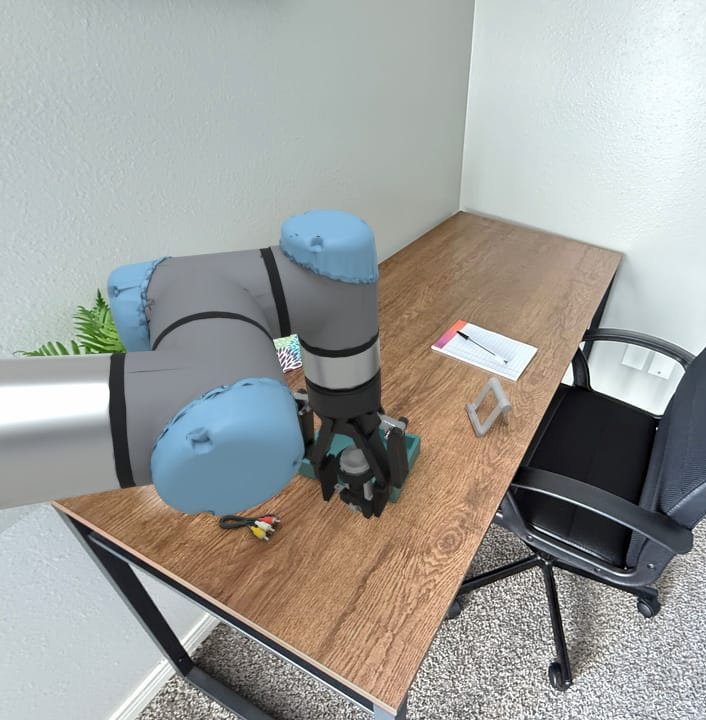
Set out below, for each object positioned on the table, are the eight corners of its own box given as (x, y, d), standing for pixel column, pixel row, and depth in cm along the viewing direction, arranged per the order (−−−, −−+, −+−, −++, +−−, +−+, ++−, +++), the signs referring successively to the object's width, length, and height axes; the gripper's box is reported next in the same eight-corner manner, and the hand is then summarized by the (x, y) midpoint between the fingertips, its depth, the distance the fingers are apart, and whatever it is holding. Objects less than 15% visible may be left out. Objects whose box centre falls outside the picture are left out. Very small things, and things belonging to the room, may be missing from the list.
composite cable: (215, 528, 74) (211, 519, 72) (235, 503, 78) (232, 494, 76) (270, 546, 73) (268, 538, 71) (288, 521, 76) (286, 512, 75)
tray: (298, 474, 84) (295, 460, 81) (332, 426, 93) (331, 411, 91) (395, 503, 81) (395, 489, 79) (420, 450, 91) (420, 436, 88)
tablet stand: (464, 408, 101) (468, 380, 96) (498, 403, 104) (503, 375, 99) (476, 437, 95) (480, 409, 90) (511, 432, 98) (517, 403, 92)
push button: (323, 506, 60) (314, 456, 54) (349, 477, 64) (344, 428, 58) (364, 530, 58) (360, 481, 52) (389, 499, 62) (388, 450, 56)
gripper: (445, 369, 49) (434, 498, 63) (279, 325, 51) (305, 459, 66) (419, 417, 43) (414, 548, 57) (233, 365, 45) (273, 502, 60)
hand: (356, 500), depth 61 cm, fingers closed on push button, 6 cm apart
